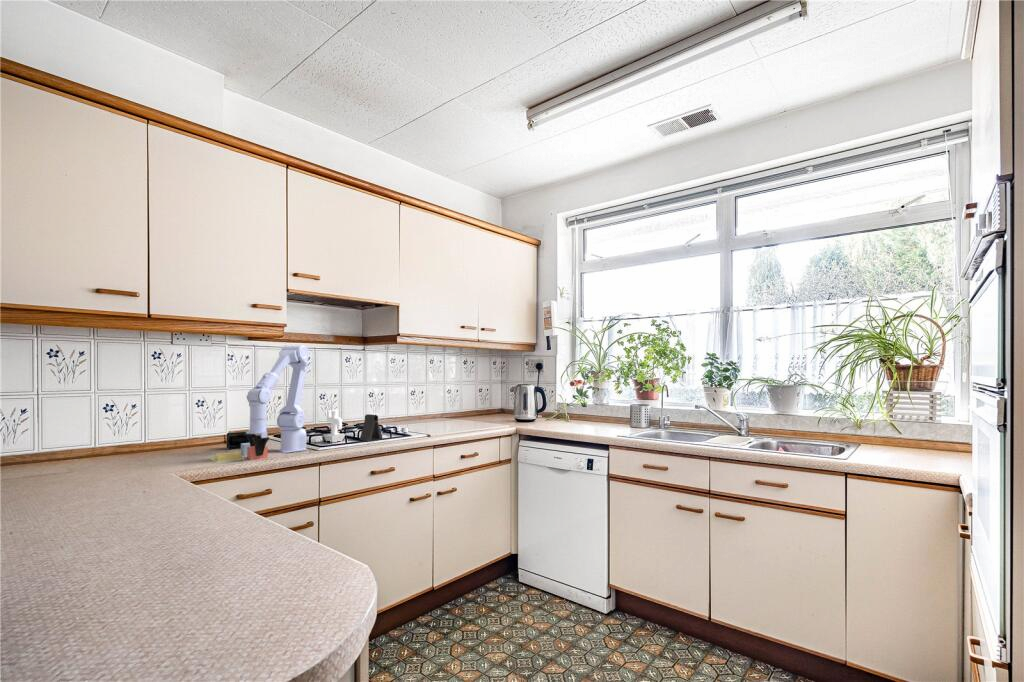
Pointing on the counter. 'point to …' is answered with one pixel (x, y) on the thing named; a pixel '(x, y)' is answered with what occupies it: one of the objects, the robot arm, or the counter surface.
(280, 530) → the counter surface
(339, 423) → the figurine
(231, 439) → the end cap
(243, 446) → the blue brick
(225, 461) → the baseplate
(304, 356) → the robot arm
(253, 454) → the red brick
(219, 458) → the mustard brick
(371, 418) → the phone stand
